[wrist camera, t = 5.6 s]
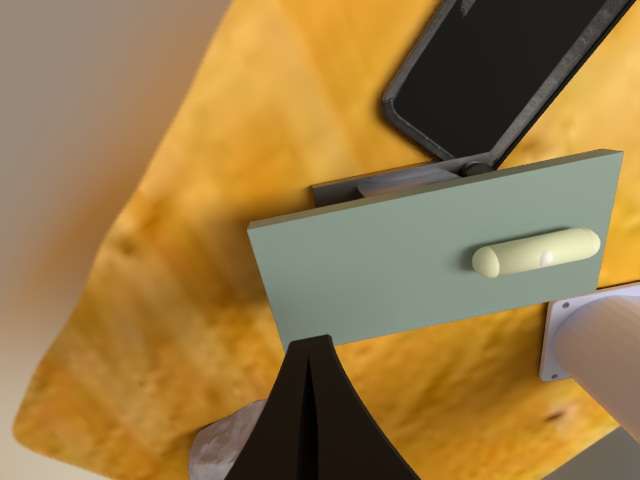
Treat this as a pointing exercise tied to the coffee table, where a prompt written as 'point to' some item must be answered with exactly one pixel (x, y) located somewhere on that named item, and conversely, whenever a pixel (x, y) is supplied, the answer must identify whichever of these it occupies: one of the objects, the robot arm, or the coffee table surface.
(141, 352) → the coffee table surface
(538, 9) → the phone
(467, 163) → the tribrach base
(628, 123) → the coffee table surface
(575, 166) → the plate
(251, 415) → the stone block
